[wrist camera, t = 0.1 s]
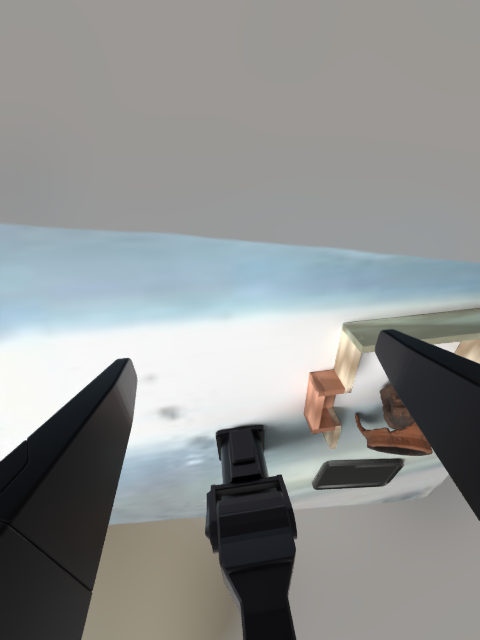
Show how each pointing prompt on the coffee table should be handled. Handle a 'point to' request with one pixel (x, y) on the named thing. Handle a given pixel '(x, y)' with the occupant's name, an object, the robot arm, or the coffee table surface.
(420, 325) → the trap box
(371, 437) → the pottery mug
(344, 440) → the coffee table surface
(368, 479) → the phone
